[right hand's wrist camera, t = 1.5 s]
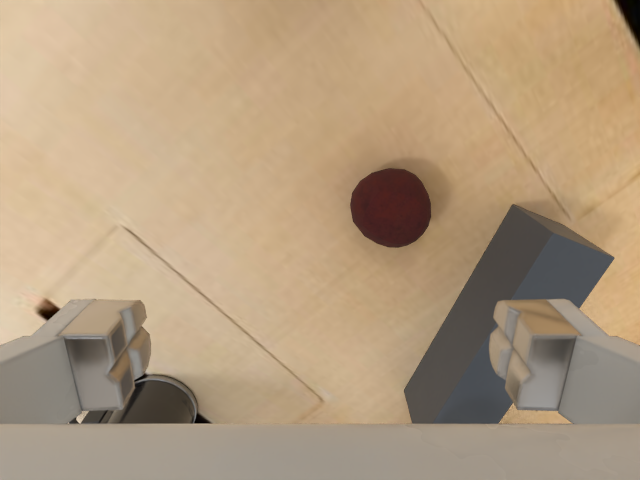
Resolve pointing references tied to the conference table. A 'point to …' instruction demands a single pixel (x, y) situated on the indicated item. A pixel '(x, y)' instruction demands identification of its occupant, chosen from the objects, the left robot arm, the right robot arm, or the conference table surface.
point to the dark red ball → (391, 207)
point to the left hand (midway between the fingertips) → (475, 454)
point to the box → (478, 310)
